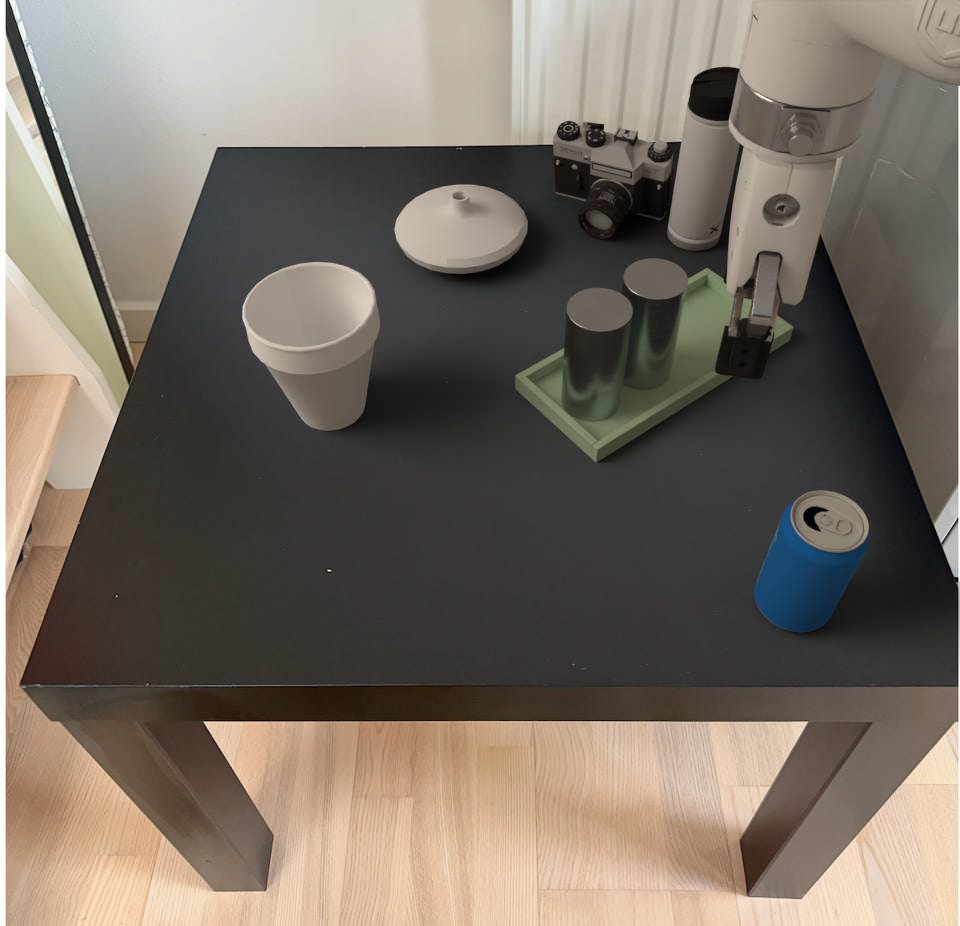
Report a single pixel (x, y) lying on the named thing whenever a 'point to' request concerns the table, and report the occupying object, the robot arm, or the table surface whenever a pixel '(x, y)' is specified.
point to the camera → (611, 175)
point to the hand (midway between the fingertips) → (741, 327)
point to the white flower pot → (316, 338)
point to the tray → (647, 408)
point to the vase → (461, 229)
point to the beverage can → (811, 560)
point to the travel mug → (704, 162)
